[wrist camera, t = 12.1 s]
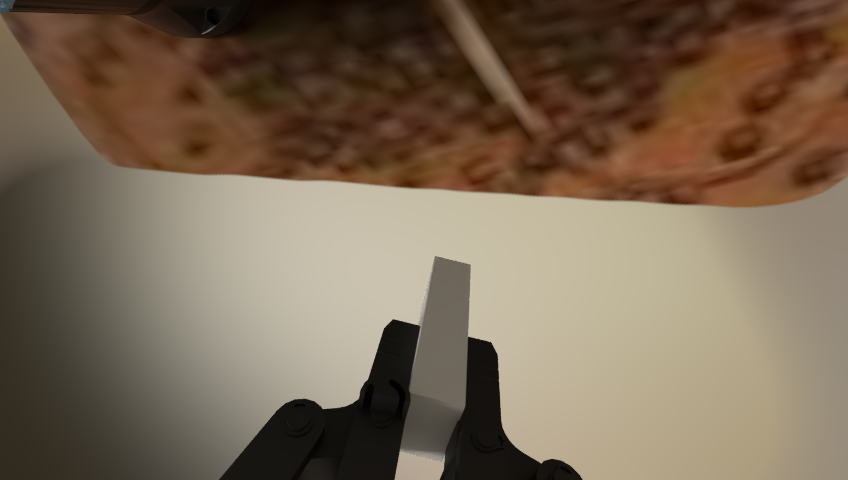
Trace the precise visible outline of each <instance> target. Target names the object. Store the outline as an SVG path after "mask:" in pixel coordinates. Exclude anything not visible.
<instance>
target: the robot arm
mask: <svg viewBox="0 0 848 480" xmlns="http://www.w3.org/2000/svg"><path fill="white" fill-rule="evenodd" d="M251 2H252V0H0V14H1V13H6V12H37V13H73V14H109V15H128V16H130V17H132V18H134V19H137V20H139V21H141V22H143V23H145V24H148V25H150V26H152V27H154V28H156V29H159V30H161V31H163V32H166V33H168V34H171V35H175V36H179V37H185V38H210V37H216V36H219V35H222V34H224V33H226V32H228V31H230V30H231V29H233V28H234V27H235V26H236V25H237V24H238V23H239V22H240V21H241V20H242V18H243V17H244V16H245V14H246V12H247V11H248V9H249V6H250V4H251ZM470 266H471V265H470V264H465V263H461V262H457V261H453V260H449V259H444V258H441V257H437V256H435V258H434V262H433V266H432V270H431V274H430V277H429V281H428V285H427V289H426V293H425V297H424V300H423V304H422V309H421V314H420V318H419V323H418V325H414V324H410V323H406V322H402V321H398V320H392V321H391V322H390V323H389V324H388V325H387V326H386V327H385V328H384V330H383V334H382V337H381V340H380V343H379V346H378V350H377V353H376V356H375V359H374V362H373V366H372V369H371V372H370V375H369V378H368V380H367V381H366V382H365V383H364V385H363V387H362V388H361V391H360V396H359V399H358V400H357V401H355V402H354V403H353V404H350V405H348V406H346V407H341V408H332V409H322V408H321V406H319V405H318V404H317V403H316V402H314V401H311V400H308V399H297V400H296V399H295V400H293V401H290V402H288V403H285V404H284V405H283V406H282V407H281V408H279V410H277V411H276V413H275V414H274V415H273V416H272V417H271V418H270V420H269V421H268V422H267V423H266V424H265V426H264V427H263V428H262V429H261V430H260V431H259V433H258V434H257V435H256V436H255V438H254V439H253V440H252V441H251V442H250V443H249V445H248V446H247V447H246V448H245V449H244V451H243V452H242V453H241V454H240V455H239V457H238V458H237V459H236V460H235V461H234V463H233V464H232V465H231V466H230V467H229V469H228V470H227V471H226V472H225V473H224V475H223V476H222V477H221V478H220V479H219V480H394V479H395V474H396V468H397V463H398V457H399V452H400V451H401V452H405V453H409V454H413V455H418V456H421V457H426V458H430V459H434V460H438V461H442V460H443V458H444V455H445V463H444V471H443V473H442V475H441V478H440V480H582V478H581V477H580V475H579V474H578V473H577V472H576V471H575V470H574V469H573V468H572V467H571V466H570V465H568V464H566V463H564V462H562V461H560V460H555V459H550V460H546V461H544V462H543V463H542V464H541V463H539V462H538V461H536V460H534V459H533V458H531V457H529V456H528V455H526V454H524V453H523V452H521V451H520V450H518V449H517V448H516V447H515V446H514V445H513V444H512V443H511V442H510V441H509V439H508V438H507V436H506V435H505V433H504V430H503V428H502V423H501V408H500V390H499V371H498V355H497V353H496V351H495V349H494V347H493V345H492V343H491V342H488V341H484V340H480V339H475V338H471V337H468V320H469V294H470Z"/></svg>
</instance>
